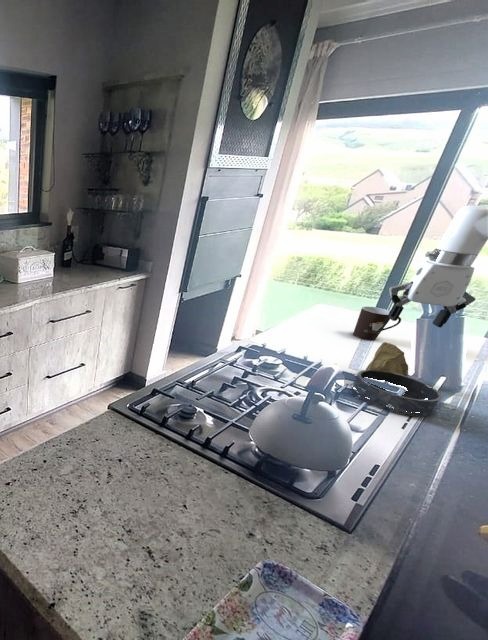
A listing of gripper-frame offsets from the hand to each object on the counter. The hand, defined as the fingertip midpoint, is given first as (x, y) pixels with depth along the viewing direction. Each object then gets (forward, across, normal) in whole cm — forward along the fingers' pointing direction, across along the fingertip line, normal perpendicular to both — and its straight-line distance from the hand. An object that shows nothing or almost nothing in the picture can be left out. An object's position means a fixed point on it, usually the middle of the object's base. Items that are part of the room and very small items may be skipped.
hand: (414, 322), depth 109 cm
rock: (+17, +1, 0) cm, 17 cm away
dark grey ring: (+17, -3, -15) cm, 23 cm away
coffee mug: (+17, +9, +36) cm, 41 cm away
